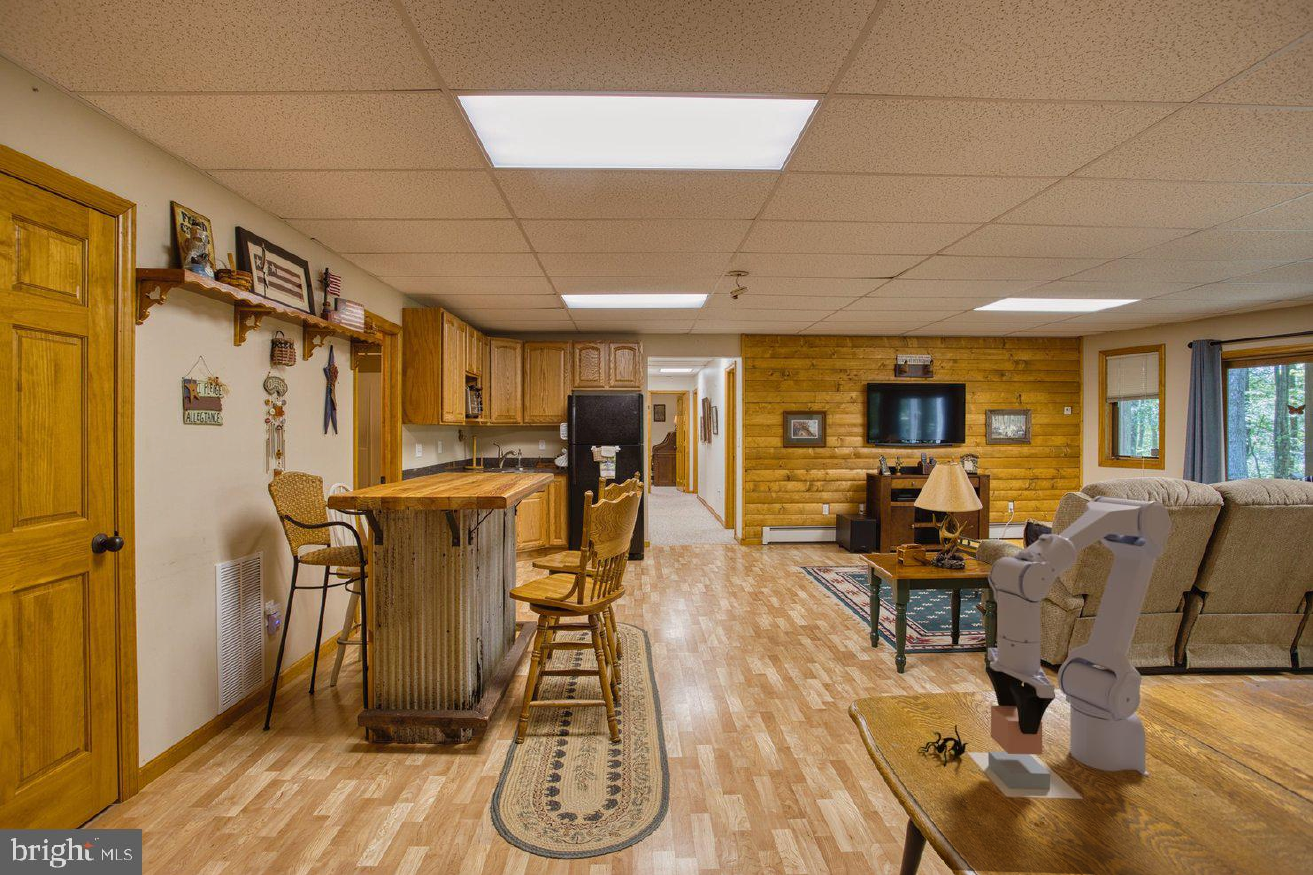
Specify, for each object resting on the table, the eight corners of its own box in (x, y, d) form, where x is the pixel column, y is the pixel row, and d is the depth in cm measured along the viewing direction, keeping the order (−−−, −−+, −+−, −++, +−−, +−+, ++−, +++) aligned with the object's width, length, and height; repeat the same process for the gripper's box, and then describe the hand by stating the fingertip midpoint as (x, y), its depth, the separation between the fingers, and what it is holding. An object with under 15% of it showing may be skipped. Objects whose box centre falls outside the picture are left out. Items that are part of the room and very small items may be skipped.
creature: (924, 777, 95) (977, 771, 93) (917, 744, 95) (969, 738, 93) (913, 751, 102) (961, 746, 101) (906, 721, 103) (954, 715, 101)
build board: (1034, 758, 98) (1034, 753, 98) (1083, 803, 86) (1083, 798, 86) (966, 757, 98) (966, 752, 98) (1006, 801, 87) (1006, 796, 87)
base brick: (1026, 766, 94) (1026, 751, 94) (1050, 789, 88) (1050, 773, 88) (988, 766, 94) (988, 751, 94) (1009, 788, 88) (1009, 772, 88)
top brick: (1023, 737, 94) (1023, 706, 94) (1042, 754, 89) (1042, 721, 89) (990, 736, 94) (990, 705, 94) (1008, 753, 89) (1008, 720, 89)
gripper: (969, 621, 99) (969, 701, 99) (1018, 653, 84) (1018, 748, 84) (1012, 621, 98) (1012, 702, 98) (1069, 654, 84) (1069, 749, 84)
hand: (1018, 723), depth 91 cm, fingers closed on top brick, 5 cm apart
